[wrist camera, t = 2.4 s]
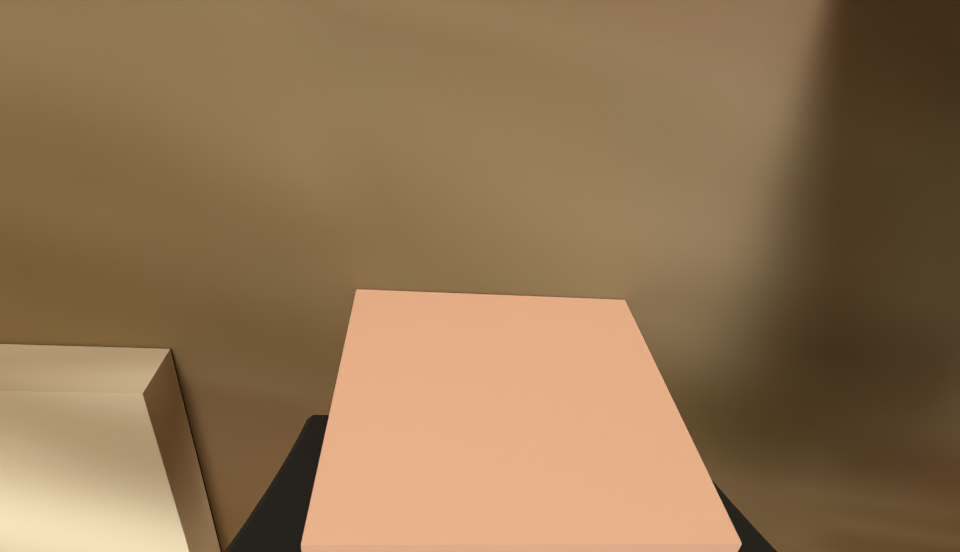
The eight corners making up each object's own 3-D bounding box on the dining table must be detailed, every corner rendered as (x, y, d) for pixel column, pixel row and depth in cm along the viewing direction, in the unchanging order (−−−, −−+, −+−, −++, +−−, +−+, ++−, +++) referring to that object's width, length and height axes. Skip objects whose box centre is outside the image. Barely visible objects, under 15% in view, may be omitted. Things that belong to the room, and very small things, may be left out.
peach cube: (577, 475, 14) (641, 730, 9) (361, 473, 13) (325, 740, 9) (624, 299, 11) (742, 543, 7) (356, 289, 10) (300, 545, 6)
